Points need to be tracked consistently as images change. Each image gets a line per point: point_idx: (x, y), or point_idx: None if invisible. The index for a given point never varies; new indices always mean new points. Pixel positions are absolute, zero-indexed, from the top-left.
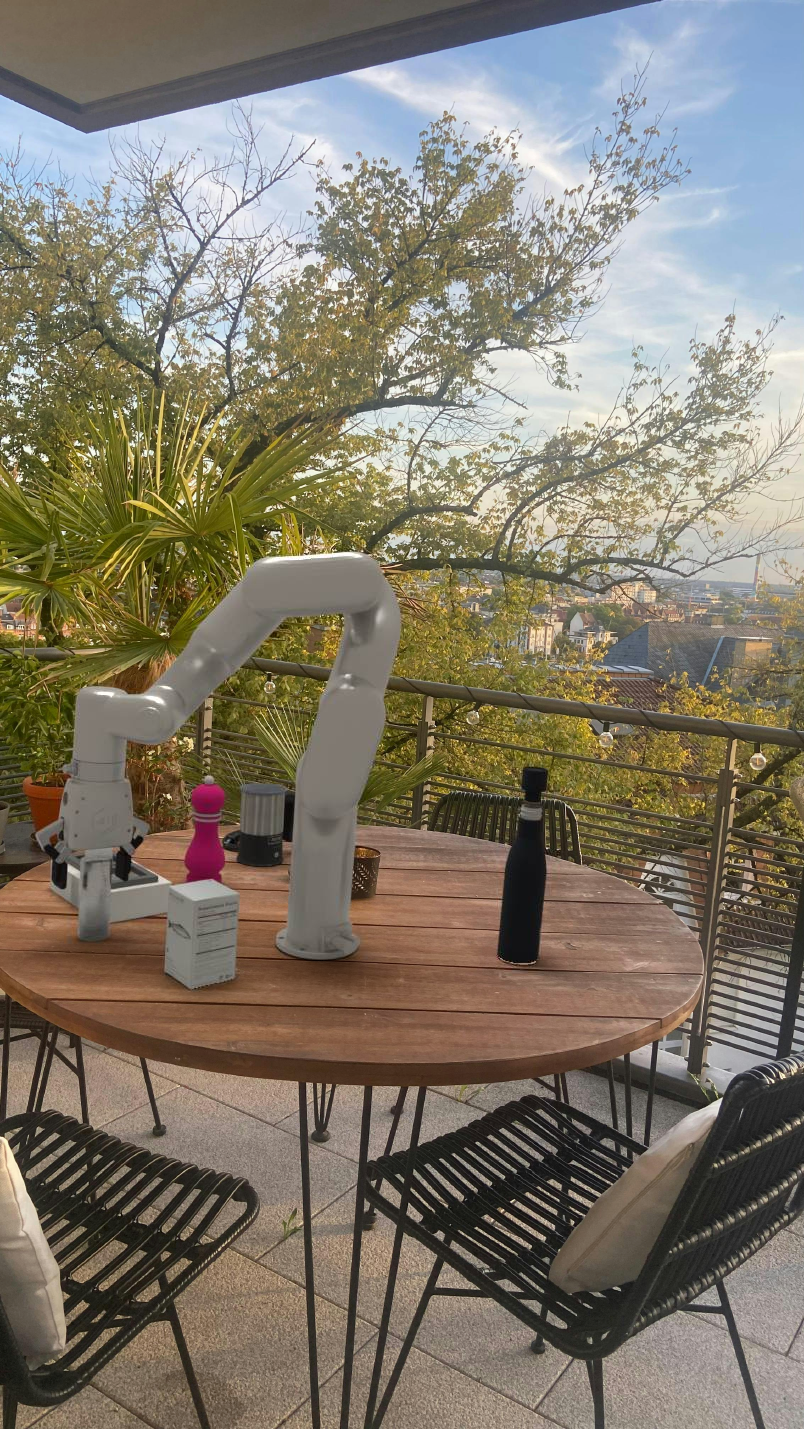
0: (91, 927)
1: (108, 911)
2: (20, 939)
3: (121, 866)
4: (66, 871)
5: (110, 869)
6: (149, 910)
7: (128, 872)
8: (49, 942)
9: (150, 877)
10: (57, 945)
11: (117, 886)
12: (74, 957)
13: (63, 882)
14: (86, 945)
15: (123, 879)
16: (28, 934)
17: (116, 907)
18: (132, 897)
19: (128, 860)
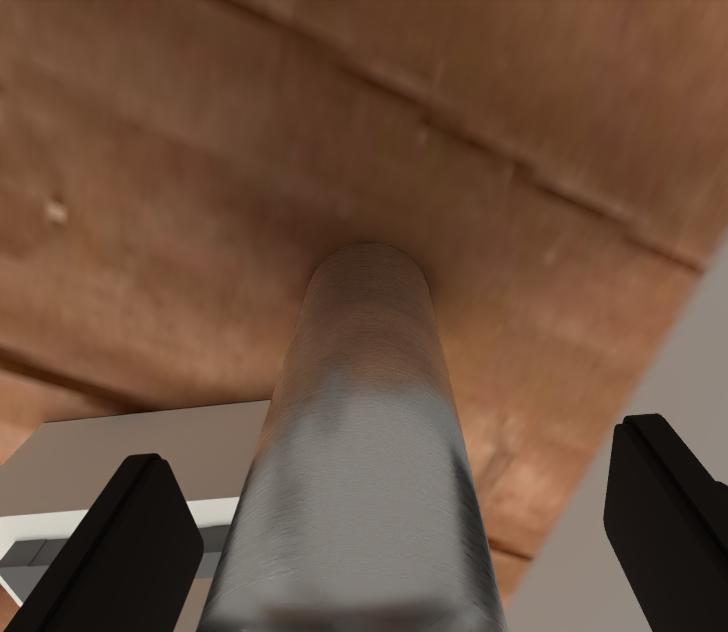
0: (398, 272)
1: (306, 316)
2: (622, 363)
3: (133, 575)
4: (722, 536)
5: (241, 521)
6: (113, 429)
7: (96, 501)
8: (544, 300)
9: (34, 565)
10: (531, 259)
11: (204, 535)
12: (526, 89)
13: (680, 448)
14: (425, 216)
15: (159, 464)
16: (575, 395)
17: (237, 441)
18: None
19: (30, 608)
